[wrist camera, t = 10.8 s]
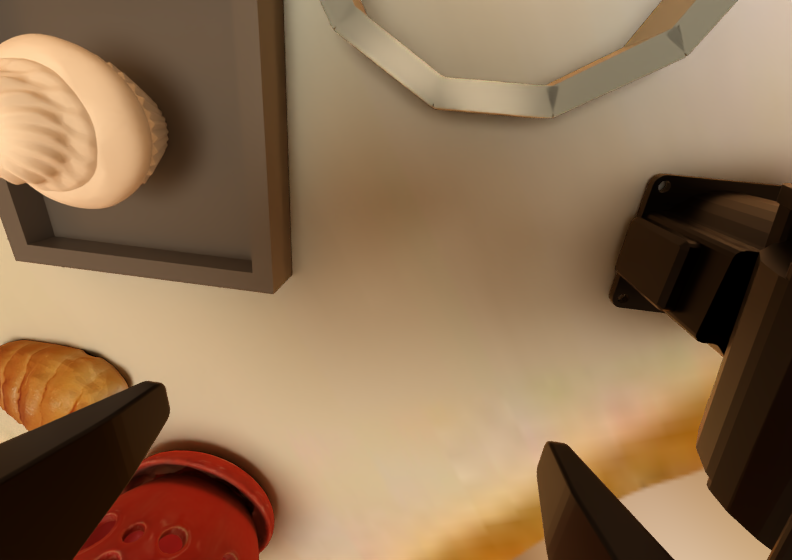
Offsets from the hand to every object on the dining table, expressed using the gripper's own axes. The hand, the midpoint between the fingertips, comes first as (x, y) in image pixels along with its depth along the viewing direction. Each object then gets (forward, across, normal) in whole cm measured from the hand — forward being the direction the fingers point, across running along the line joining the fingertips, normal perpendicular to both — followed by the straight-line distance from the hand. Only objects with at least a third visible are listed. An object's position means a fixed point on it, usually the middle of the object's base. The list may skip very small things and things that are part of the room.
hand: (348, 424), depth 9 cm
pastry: (+12, +22, +12) cm, 28 cm away
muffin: (+11, +13, -5) cm, 18 cm away
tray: (+12, +13, -5) cm, 18 cm away
